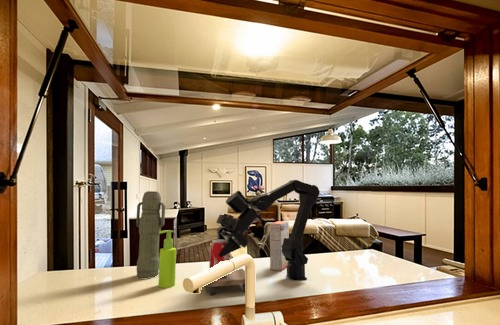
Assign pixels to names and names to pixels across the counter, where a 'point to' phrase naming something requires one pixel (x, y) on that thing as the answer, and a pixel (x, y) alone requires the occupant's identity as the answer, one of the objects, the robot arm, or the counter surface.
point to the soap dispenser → (167, 262)
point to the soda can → (217, 252)
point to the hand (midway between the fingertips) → (215, 254)
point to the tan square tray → (228, 281)
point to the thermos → (149, 234)
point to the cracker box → (278, 244)
